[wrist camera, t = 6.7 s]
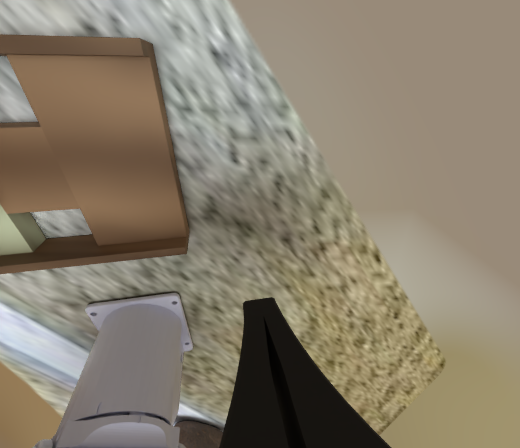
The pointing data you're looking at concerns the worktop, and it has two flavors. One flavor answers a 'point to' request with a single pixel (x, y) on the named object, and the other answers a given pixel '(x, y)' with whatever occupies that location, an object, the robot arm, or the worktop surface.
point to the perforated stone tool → (198, 435)
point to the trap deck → (88, 154)
